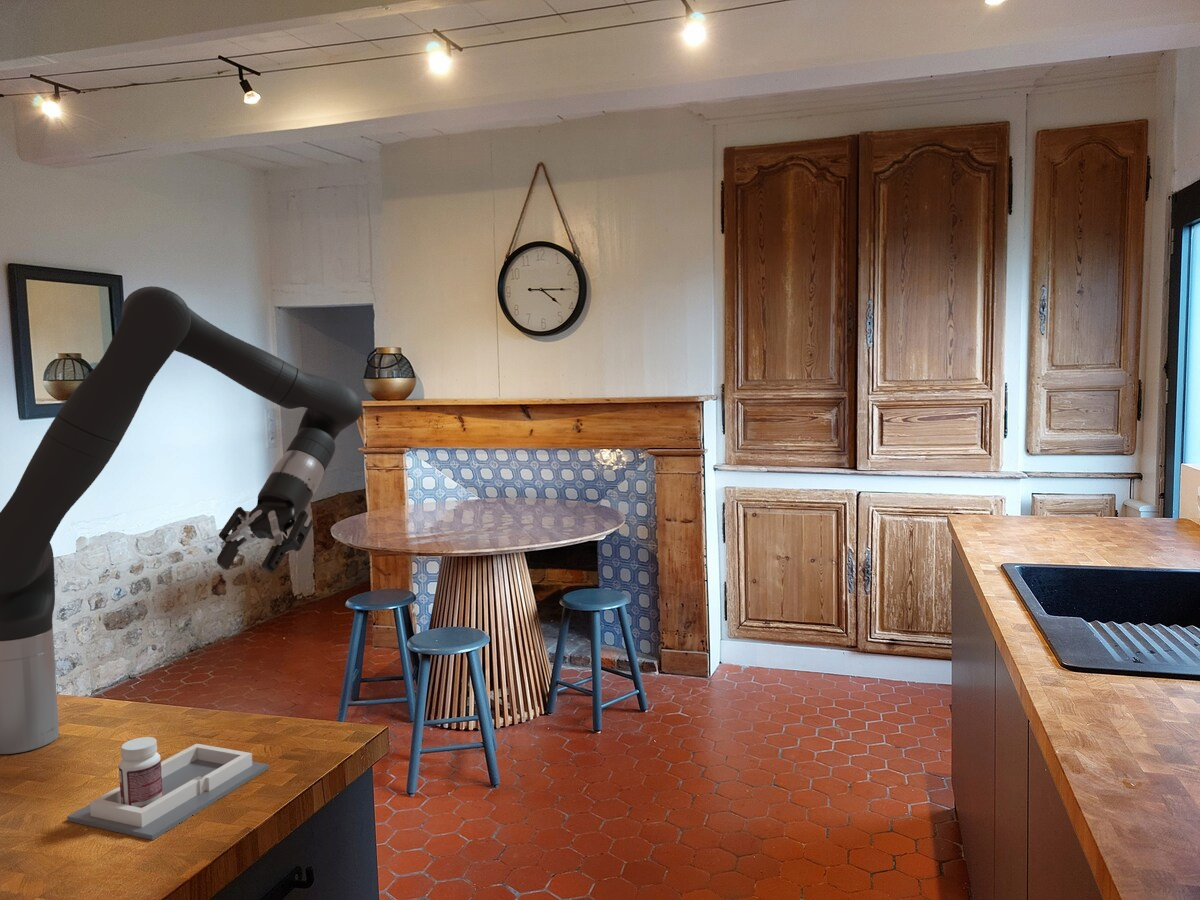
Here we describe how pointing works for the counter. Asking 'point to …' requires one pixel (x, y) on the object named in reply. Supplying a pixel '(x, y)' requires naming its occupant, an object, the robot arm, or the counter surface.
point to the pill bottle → (140, 772)
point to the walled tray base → (174, 792)
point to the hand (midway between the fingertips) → (244, 568)
